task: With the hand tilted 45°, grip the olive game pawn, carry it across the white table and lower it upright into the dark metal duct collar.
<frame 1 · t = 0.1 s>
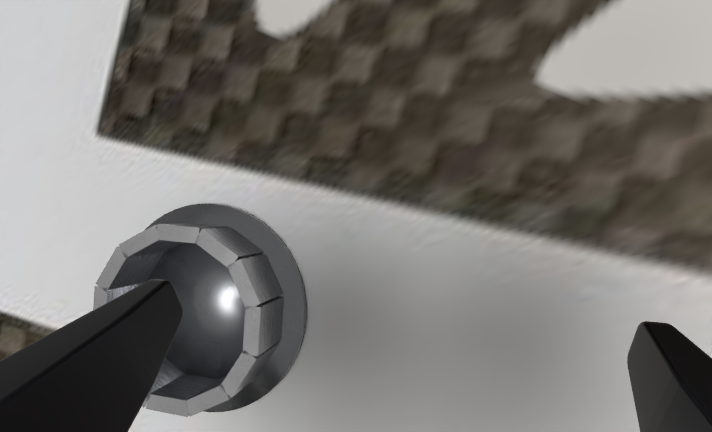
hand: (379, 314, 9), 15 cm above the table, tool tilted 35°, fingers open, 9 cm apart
duct collar: (209, 306, 26), on the table
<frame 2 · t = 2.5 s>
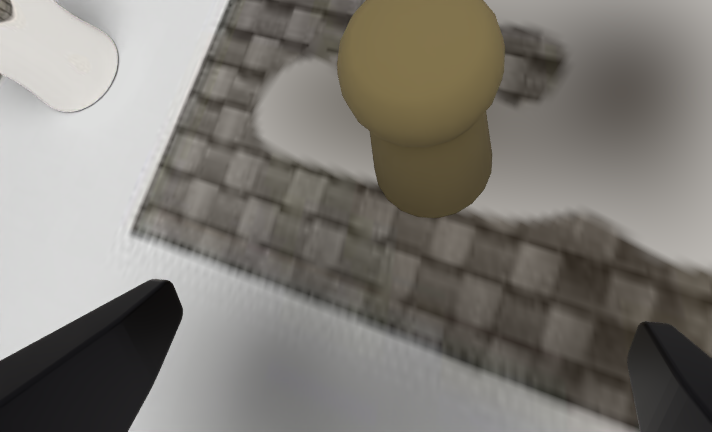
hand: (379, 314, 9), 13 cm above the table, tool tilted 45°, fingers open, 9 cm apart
olive game pawn: (431, 162, 23), on the table
beer glass: (81, 72, 29), on the table
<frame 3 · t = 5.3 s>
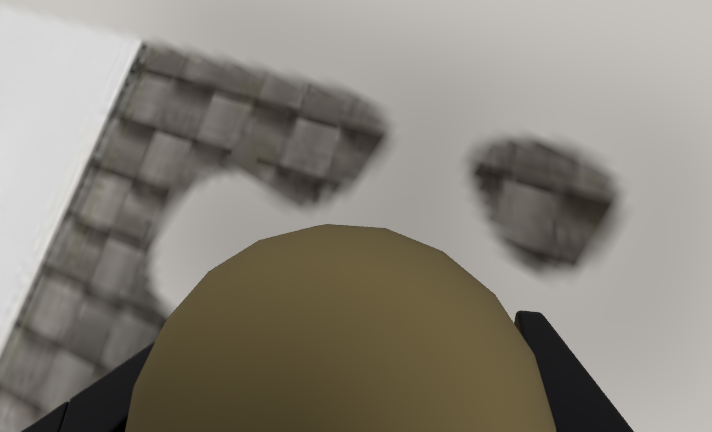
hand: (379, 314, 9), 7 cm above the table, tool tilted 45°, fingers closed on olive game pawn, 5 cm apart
olive game pawn: (408, 356, 15), on the table, touching gripper
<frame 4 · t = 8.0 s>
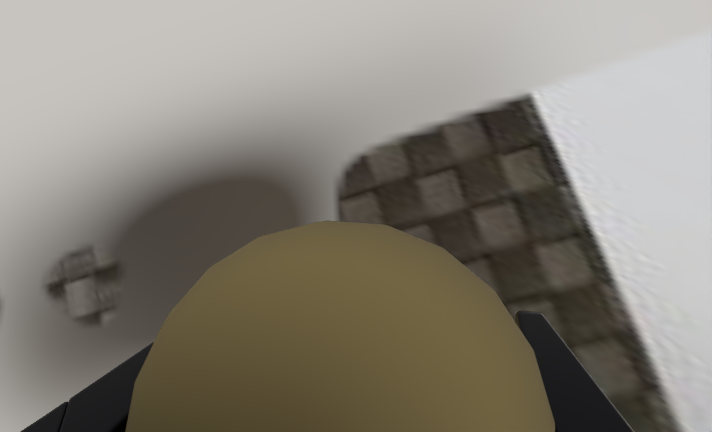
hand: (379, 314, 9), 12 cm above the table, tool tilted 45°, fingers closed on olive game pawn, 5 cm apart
olive game pawn: (406, 353, 15), point 5 cm above the table, touching gripper
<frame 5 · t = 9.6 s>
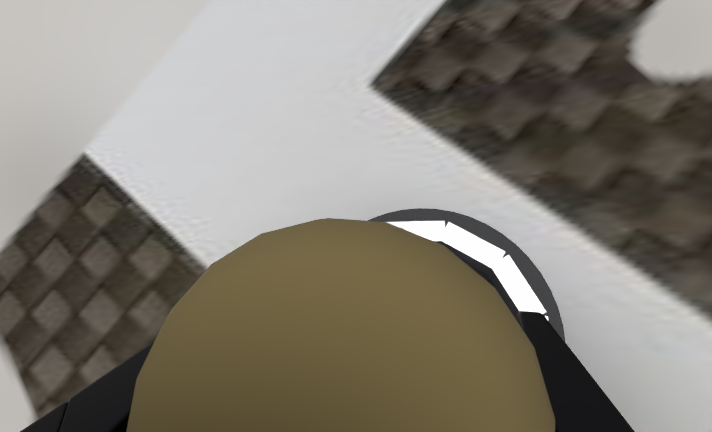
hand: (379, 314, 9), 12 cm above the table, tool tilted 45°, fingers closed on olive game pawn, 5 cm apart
olive game pawn: (405, 352, 15), point 5 cm above the table, touching gripper
duct collar: (421, 339, 20), on the table
when the fingers open (8 cm above the table, at t = 11.1 s): olive game pawn stays where it is, resting on duct collar.
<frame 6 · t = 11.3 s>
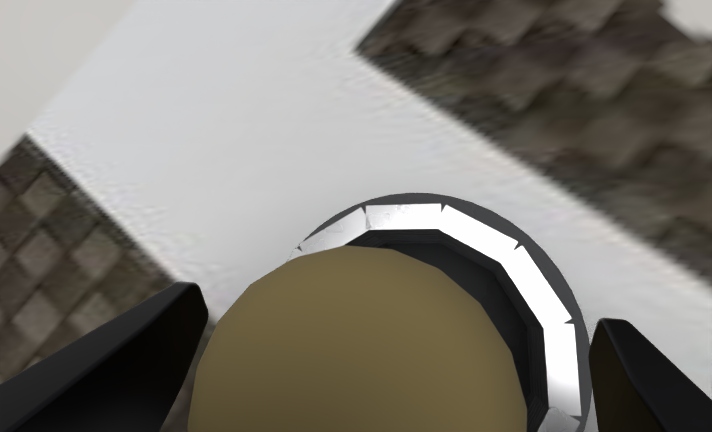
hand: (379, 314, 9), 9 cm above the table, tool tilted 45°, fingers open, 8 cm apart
olive game pawn: (409, 352, 16), resting on duct collar
duct collar: (412, 351, 16), on the table
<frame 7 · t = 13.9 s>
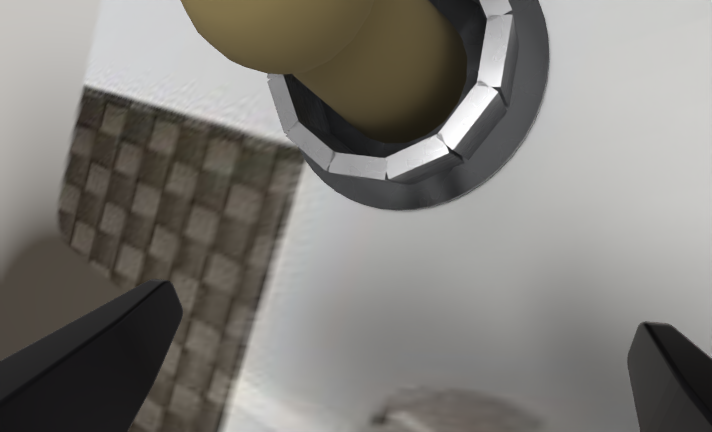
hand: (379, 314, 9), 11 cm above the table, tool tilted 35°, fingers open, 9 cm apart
olive game pawn: (399, 76, 20), resting on duct collar
duct collar: (403, 77, 20), on the table
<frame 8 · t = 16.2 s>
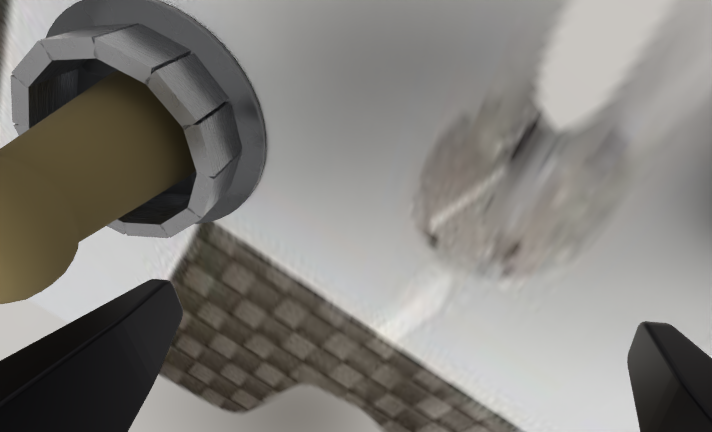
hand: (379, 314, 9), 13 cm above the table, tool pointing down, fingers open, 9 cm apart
olive game pawn: (154, 126, 23), resting on duct collar
duct collar: (156, 122, 23), on the table
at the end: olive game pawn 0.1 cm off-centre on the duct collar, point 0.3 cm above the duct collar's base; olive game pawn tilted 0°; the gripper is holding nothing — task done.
